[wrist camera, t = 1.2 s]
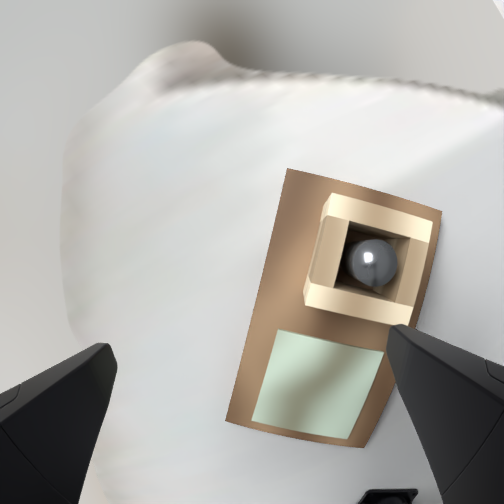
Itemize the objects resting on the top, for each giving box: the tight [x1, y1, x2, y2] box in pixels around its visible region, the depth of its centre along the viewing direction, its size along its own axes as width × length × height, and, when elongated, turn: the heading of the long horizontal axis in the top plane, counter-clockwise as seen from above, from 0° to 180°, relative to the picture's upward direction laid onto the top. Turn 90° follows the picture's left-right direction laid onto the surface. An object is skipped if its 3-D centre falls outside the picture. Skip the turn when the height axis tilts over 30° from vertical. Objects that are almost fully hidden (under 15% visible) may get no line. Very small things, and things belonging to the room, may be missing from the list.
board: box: [225, 168, 442, 448], centre depth 21 cm, size 12×20×2 cm, turn 167°
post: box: [339, 239, 398, 287], centre depth 17 cm, size 2×2×6 cm
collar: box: [303, 193, 433, 326], centre depth 17 cm, size 6×6×5 cm
